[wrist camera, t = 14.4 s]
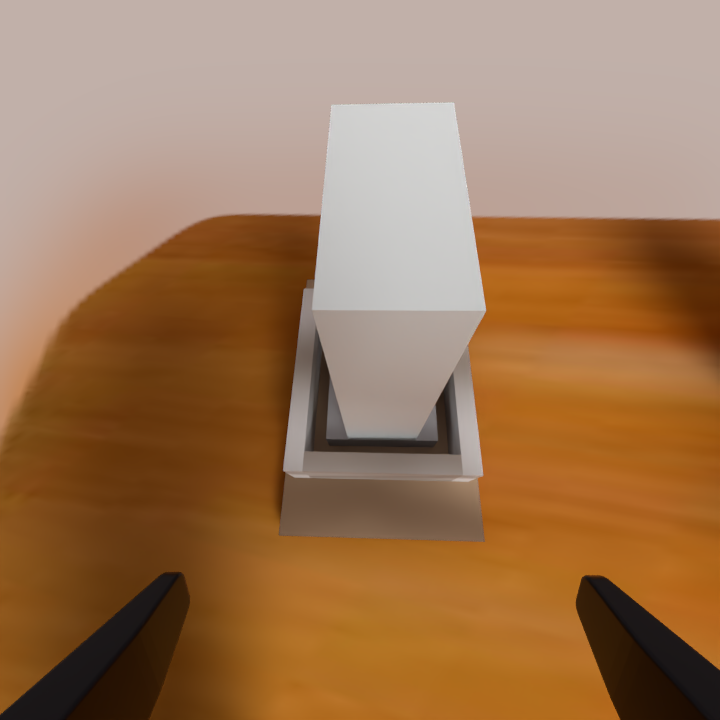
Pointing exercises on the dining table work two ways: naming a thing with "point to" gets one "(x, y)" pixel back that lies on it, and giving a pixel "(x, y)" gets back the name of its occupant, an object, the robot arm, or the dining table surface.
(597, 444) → the dining table surface
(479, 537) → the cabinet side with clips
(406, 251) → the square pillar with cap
